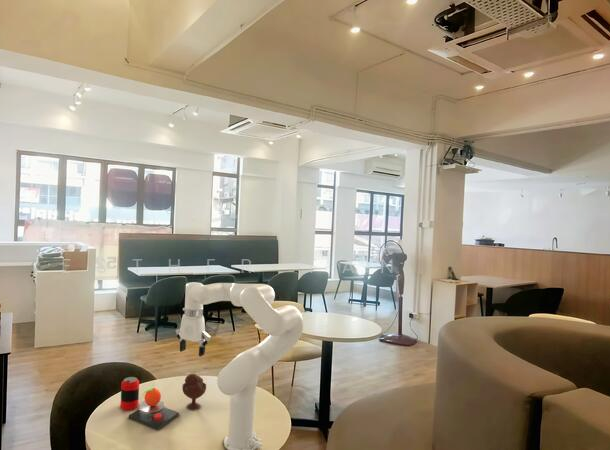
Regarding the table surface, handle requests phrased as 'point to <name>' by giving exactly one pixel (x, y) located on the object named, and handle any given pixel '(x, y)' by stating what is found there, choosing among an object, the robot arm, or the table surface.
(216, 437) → the table surface
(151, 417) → the scale
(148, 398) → the clementine
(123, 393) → the soda can
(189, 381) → the ice cream bowl
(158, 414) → the button
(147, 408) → the pan
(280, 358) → the robot arm
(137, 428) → the table surface
